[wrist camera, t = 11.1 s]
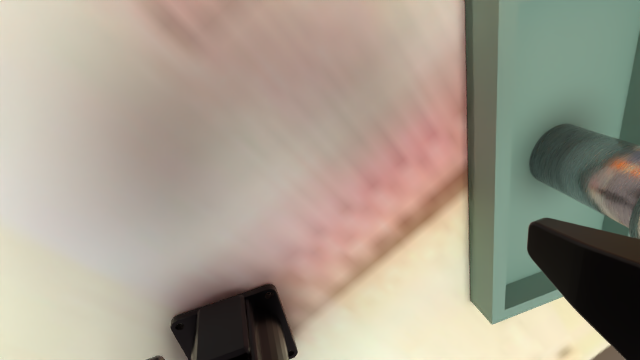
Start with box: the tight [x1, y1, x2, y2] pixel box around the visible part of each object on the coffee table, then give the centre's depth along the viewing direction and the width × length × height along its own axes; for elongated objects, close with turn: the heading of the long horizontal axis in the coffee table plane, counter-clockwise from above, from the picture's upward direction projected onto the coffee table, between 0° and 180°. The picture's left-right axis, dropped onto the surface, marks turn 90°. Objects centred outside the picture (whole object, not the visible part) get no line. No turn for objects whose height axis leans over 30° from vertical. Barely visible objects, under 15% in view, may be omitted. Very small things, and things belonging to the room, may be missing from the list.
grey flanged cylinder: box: [529, 124, 640, 239], centre depth 20 cm, size 5×5×8 cm
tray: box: [465, 0, 640, 324], centre depth 23 cm, size 22×12×2 cm, turn 13°
